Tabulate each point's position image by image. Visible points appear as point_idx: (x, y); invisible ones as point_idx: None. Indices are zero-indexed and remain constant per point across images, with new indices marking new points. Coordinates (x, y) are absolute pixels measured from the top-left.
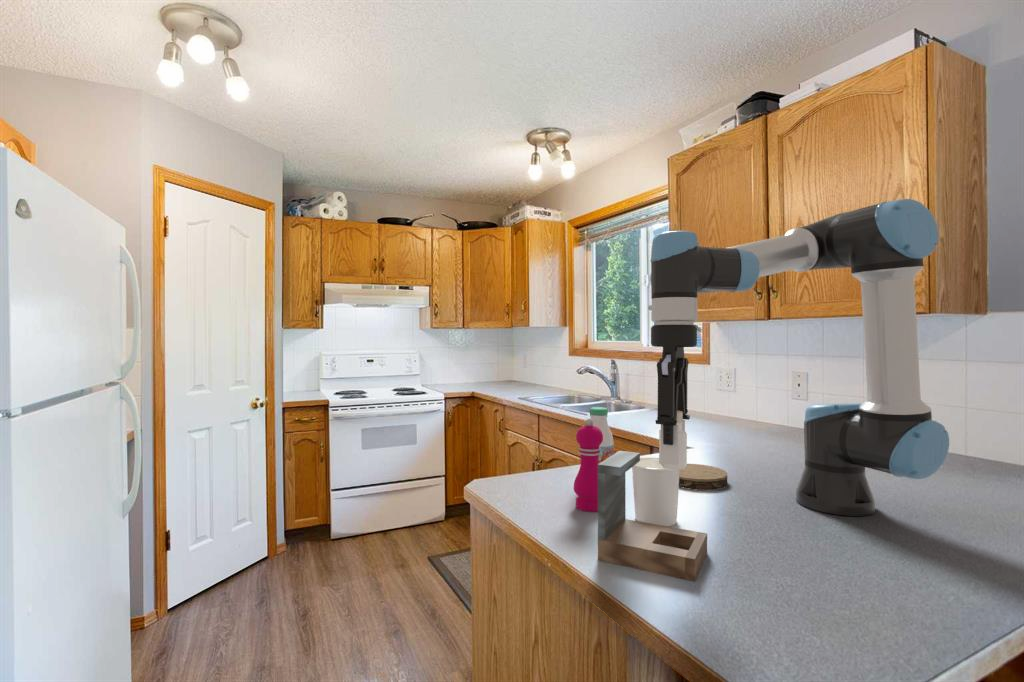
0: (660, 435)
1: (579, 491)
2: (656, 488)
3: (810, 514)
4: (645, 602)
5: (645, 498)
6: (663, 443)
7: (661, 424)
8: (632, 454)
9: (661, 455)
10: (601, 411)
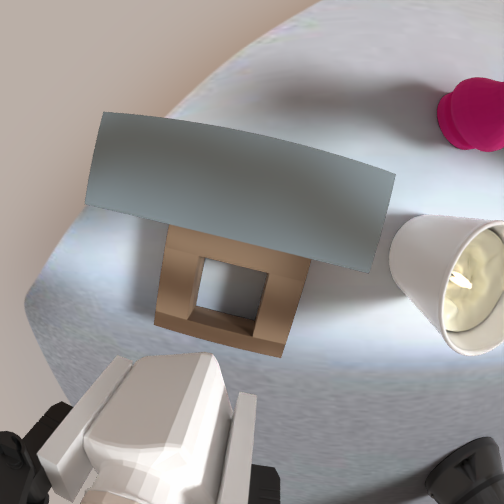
0: (141, 427)
1: (455, 89)
2: (419, 280)
3: (439, 452)
4: (88, 240)
5: (416, 245)
6: (58, 403)
7: (38, 455)
8: (330, 239)
9: (104, 372)
10: None
